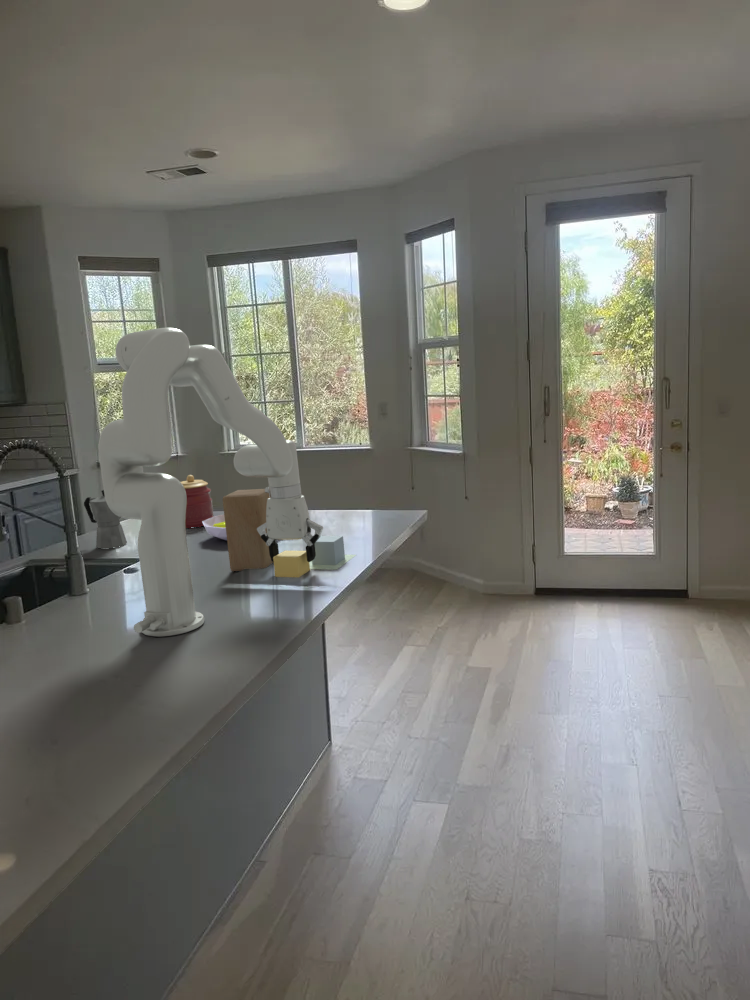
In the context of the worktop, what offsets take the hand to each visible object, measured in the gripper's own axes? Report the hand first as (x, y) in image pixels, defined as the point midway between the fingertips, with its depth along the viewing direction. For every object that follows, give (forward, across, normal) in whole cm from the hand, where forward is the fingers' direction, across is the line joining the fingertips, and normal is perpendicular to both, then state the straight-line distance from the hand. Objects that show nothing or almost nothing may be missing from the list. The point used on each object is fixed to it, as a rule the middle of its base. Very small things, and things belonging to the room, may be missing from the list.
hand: (293, 560), depth 180 cm
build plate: (+4, +3, +10) cm, 12 cm away
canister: (+5, -65, +57) cm, 87 cm away
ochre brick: (+4, 0, -1) cm, 4 cm away
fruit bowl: (+5, -35, +41) cm, 55 cm away
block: (+4, -15, +7) cm, 17 cm away
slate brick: (+3, +5, +10) cm, 12 cm away
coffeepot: (+4, -78, +28) cm, 83 cm away
